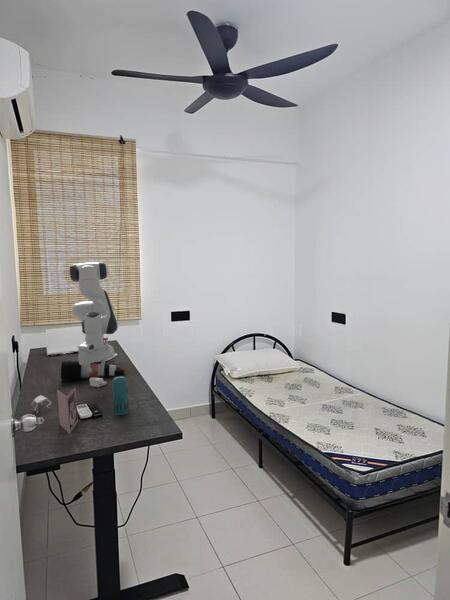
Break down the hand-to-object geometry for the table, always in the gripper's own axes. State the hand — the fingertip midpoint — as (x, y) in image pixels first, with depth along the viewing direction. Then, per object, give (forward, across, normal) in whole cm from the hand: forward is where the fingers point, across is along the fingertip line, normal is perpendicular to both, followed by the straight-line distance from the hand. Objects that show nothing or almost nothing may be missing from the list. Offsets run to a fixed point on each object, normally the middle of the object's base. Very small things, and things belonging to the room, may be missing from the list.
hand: (96, 369), depth 211 cm
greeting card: (+10, +46, +25) cm, 53 cm away
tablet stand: (+8, -53, -76) cm, 93 cm away
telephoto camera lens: (+9, -11, -12) cm, 19 cm away
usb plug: (+9, 0, 0) cm, 9 cm away
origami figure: (+10, +33, -3) cm, 35 cm away
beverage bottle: (+10, +28, +38) cm, 48 cm away
